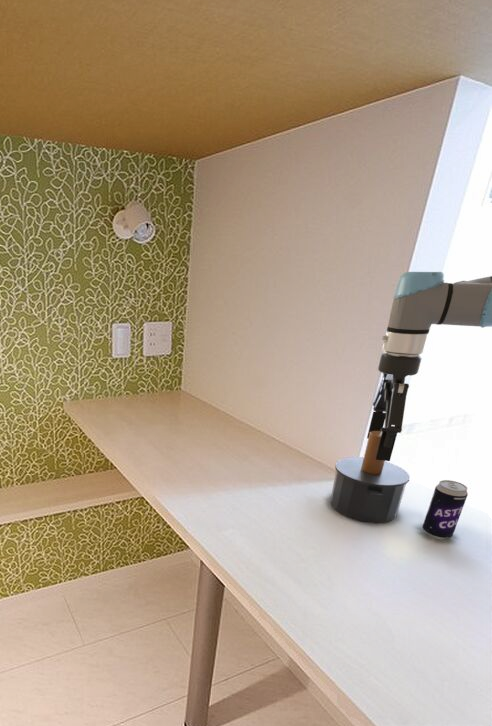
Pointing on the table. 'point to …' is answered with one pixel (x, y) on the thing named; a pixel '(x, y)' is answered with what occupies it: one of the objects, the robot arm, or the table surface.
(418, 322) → the robot arm
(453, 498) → the beverage can
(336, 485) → the tin
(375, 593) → the table surface
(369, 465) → the tin lid
